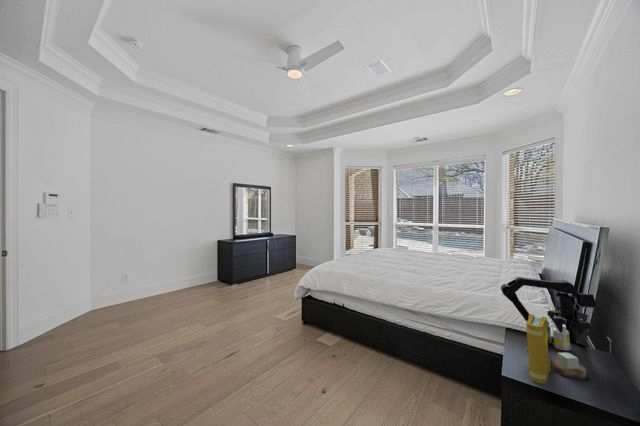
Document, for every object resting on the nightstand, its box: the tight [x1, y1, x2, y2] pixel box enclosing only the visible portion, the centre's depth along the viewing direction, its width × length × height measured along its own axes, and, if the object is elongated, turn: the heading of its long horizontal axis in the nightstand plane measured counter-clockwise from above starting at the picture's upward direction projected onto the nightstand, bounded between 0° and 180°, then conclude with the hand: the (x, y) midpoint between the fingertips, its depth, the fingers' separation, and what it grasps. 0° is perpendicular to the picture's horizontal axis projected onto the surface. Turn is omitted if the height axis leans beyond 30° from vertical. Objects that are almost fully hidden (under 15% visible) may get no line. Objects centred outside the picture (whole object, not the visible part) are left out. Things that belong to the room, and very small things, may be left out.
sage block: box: [557, 352, 580, 369], centre depth 123 cm, size 5×5×5 cm
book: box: [526, 313, 552, 385], centre depth 122 cm, size 17×7×25 cm, turn 134°
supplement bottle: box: [552, 323, 571, 351], centre depth 145 cm, size 7×7×13 cm
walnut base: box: [550, 358, 587, 380], centre depth 123 cm, size 12×12×2 cm
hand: (569, 336), depth 133 cm, fingers open, 9 cm apart
